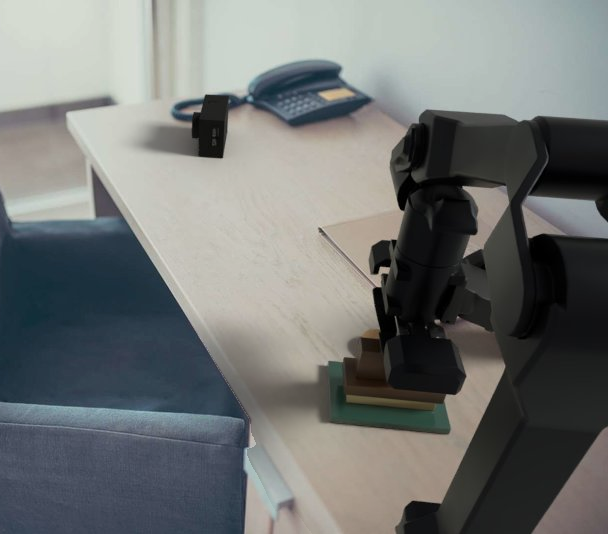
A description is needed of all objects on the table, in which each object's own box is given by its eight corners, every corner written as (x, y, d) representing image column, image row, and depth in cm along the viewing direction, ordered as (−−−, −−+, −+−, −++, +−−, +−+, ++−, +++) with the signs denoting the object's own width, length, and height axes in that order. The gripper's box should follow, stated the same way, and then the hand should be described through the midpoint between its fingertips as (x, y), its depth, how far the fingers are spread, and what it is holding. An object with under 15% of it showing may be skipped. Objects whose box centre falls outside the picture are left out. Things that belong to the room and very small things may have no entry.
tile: (449, 434, 65) (451, 429, 65) (330, 422, 66) (331, 417, 65) (435, 375, 71) (437, 370, 71) (327, 365, 72) (328, 360, 72)
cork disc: (399, 344, 75) (401, 337, 74) (387, 365, 72) (389, 358, 72) (367, 331, 77) (368, 324, 76) (354, 351, 74) (355, 344, 73)
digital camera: (197, 129, 118) (198, 92, 114) (227, 131, 118) (229, 94, 113) (191, 156, 110) (191, 118, 105) (222, 158, 109) (224, 120, 105)
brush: (439, 414, 66) (457, 367, 62) (341, 404, 67) (352, 357, 62) (432, 384, 69) (449, 338, 65) (339, 375, 70) (349, 329, 66)
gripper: (558, 329, 48) (496, 455, 58) (497, 199, 63) (455, 316, 73) (408, 316, 49) (371, 442, 59) (382, 190, 64) (356, 308, 73)
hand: (393, 370), depth 66 cm, fingers closed
